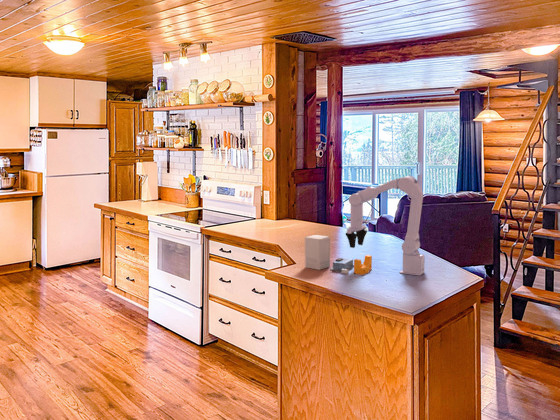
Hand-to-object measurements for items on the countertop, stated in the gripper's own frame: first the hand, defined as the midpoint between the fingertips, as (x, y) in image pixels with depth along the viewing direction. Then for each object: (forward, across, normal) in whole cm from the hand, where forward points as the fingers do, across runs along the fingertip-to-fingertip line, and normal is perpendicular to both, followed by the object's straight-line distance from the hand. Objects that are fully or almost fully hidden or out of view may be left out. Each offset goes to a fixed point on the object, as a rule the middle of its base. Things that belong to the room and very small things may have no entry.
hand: (356, 246), depth 234 cm
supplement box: (+10, +12, -14) cm, 21 cm away
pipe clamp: (+10, +6, +8) cm, 14 cm away
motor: (+10, +7, -2) cm, 13 cm away
